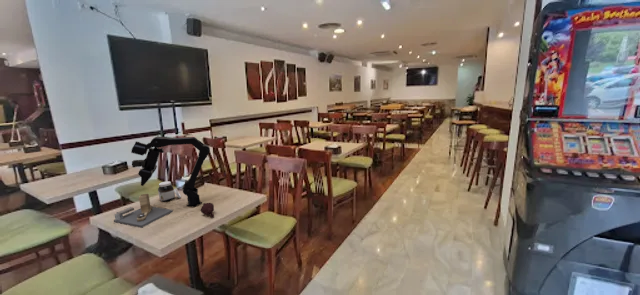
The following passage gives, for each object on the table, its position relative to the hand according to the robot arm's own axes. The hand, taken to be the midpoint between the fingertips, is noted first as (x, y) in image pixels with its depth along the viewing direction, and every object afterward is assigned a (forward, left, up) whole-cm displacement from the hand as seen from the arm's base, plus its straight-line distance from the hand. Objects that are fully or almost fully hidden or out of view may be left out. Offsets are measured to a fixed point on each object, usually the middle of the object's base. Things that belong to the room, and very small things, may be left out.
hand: (143, 183), depth 151 cm
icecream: (-36, -9, -19) cm, 41 cm away
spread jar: (+5, -20, -19) cm, 28 cm away
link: (-3, +4, -17) cm, 18 cm away
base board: (-2, +5, -18) cm, 19 cm away
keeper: (+2, +9, -17) cm, 19 cm away
